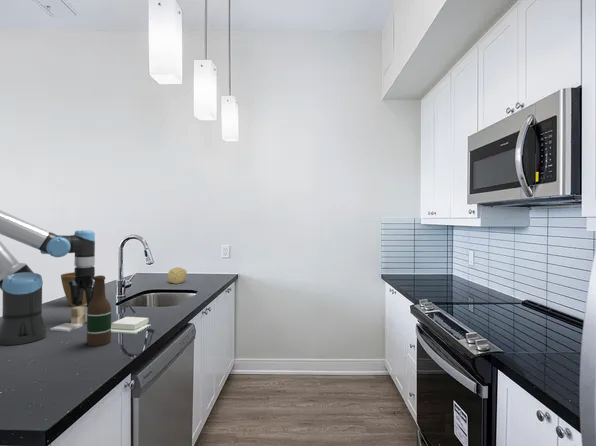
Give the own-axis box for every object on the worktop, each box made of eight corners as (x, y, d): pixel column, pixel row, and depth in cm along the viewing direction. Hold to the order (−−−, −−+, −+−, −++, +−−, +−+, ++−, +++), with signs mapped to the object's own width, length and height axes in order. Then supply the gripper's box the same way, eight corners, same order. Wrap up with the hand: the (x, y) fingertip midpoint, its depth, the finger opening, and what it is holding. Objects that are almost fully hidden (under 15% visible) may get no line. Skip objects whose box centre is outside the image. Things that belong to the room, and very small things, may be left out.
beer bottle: (83, 347, 128) (84, 278, 128) (89, 340, 135) (90, 274, 135) (108, 345, 130) (109, 277, 130) (113, 338, 138) (113, 274, 137)
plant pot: (83, 300, 198) (83, 270, 198) (100, 304, 191) (101, 273, 191) (53, 306, 185) (54, 274, 185) (71, 310, 178) (71, 276, 178)
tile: (148, 323, 156) (134, 330, 146) (126, 322, 157) (111, 328, 147) (148, 317, 156) (134, 324, 146) (126, 316, 157) (111, 323, 147)
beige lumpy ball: (175, 285, 248) (176, 269, 248) (163, 283, 254) (164, 267, 254) (189, 282, 257) (189, 267, 257) (177, 280, 264) (177, 265, 264)
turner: (68, 331, 145) (68, 313, 145) (49, 330, 146) (50, 312, 146) (102, 318, 164) (102, 302, 164) (85, 317, 166) (86, 301, 166)
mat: (135, 334, 143) (135, 332, 143) (102, 332, 145) (102, 330, 145) (150, 326, 154) (150, 324, 154) (119, 324, 156) (119, 322, 156)
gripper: (107, 265, 161) (107, 319, 162) (74, 264, 164) (74, 317, 164) (95, 268, 154) (95, 324, 154) (61, 267, 156) (60, 322, 156)
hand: (84, 321), depth 159 cm, fingers closed on turner, 3 cm apart
